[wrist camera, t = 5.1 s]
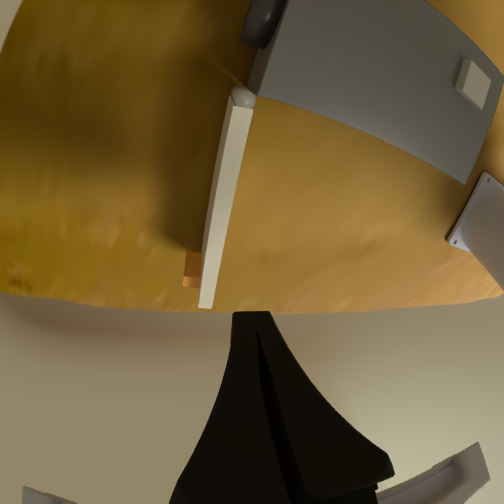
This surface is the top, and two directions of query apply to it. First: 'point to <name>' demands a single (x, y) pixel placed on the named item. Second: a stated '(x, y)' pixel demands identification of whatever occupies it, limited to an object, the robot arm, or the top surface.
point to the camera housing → (378, 73)
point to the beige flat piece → (220, 196)
